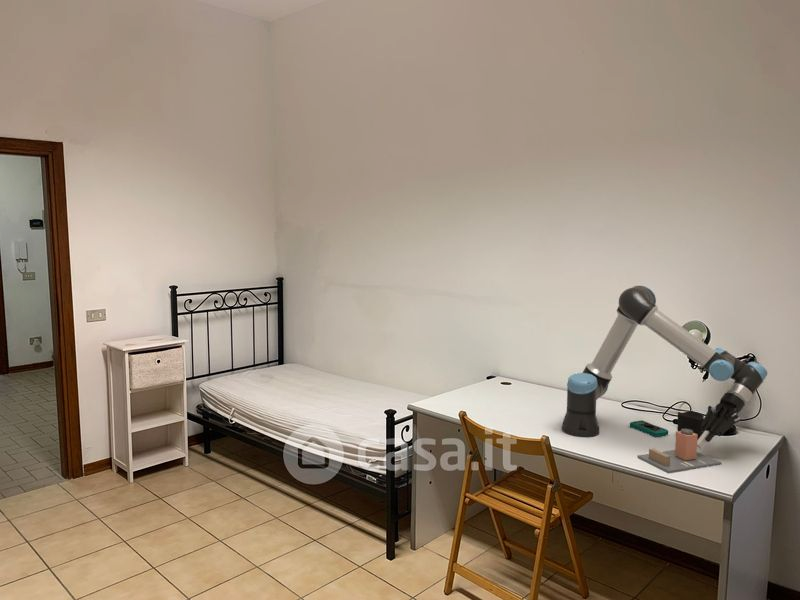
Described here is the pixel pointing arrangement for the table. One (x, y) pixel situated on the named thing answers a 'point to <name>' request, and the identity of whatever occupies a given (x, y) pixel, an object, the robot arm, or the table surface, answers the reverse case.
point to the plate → (676, 461)
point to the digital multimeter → (649, 428)
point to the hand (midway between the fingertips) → (698, 446)
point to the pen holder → (690, 422)
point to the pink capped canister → (686, 444)
